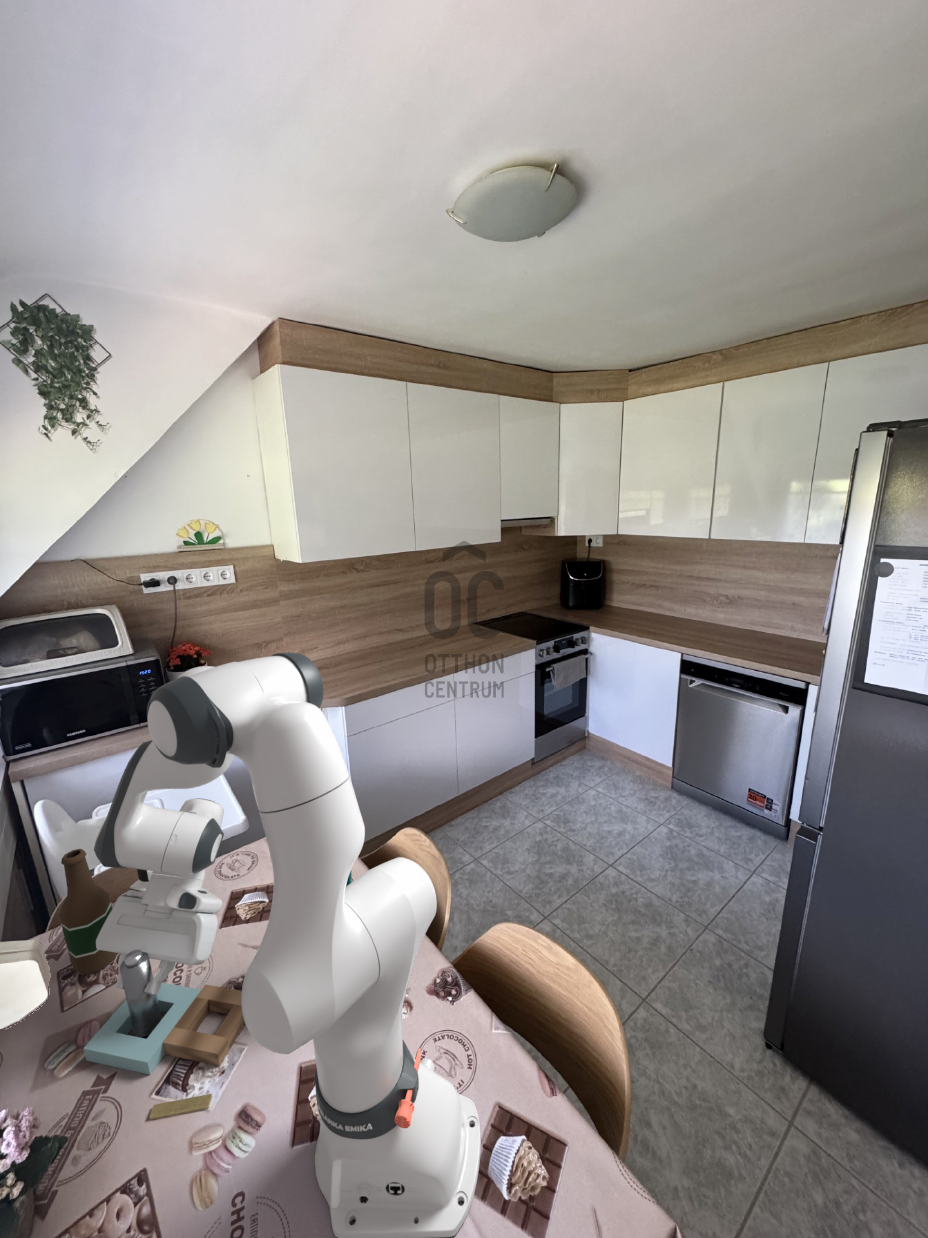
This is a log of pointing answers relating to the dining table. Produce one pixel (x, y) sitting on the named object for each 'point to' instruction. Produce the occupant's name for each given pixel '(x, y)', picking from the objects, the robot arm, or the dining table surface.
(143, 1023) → the silver metal cylinder
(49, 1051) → the dining table surface
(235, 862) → the dining table surface
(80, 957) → the beer bottle
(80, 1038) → the dining table surface
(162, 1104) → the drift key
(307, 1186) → the dining table surface
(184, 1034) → the socket block
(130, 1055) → the block
